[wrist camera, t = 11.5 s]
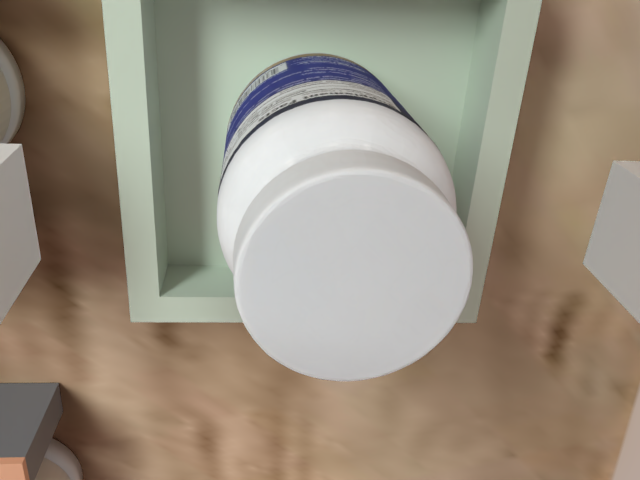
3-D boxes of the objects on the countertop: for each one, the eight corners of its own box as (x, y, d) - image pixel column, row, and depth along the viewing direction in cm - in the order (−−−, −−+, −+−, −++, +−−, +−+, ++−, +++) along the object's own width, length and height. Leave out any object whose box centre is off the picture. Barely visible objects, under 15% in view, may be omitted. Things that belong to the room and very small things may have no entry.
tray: (119, -77, 18) (94, -79, 15) (511, -51, 19) (552, -49, 17) (145, 277, 23) (130, 322, 21) (452, 280, 25) (476, 323, 22)
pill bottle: (393, 211, 22) (483, 397, 13) (233, 217, 22) (214, 414, 13) (402, 46, 20) (522, 139, 11) (221, 48, 19) (188, 148, 10)
